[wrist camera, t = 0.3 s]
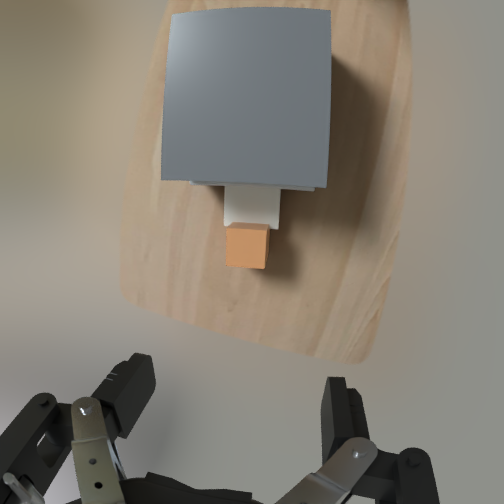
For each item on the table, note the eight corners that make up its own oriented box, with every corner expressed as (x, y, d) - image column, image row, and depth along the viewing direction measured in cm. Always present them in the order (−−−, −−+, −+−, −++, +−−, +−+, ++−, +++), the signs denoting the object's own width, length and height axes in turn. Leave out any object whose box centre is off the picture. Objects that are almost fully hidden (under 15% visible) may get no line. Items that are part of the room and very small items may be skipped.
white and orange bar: (232, 81, 32) (222, 70, 27) (286, 82, 31) (284, 70, 26) (226, 251, 37) (216, 264, 33) (277, 255, 37) (274, 269, 32)
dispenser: (202, 46, 31) (172, 14, 21) (322, 47, 29) (330, 10, 20) (195, 182, 36) (161, 191, 26) (316, 189, 34) (325, 200, 25)
